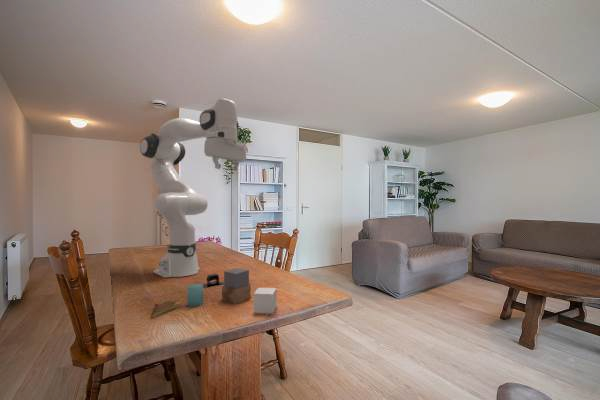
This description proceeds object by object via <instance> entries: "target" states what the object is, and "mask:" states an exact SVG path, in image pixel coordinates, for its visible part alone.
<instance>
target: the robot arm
mask: <svg viewBox="0 0 600 400" xmlns="http://www.w3.org/2000/svg"><path fill="white" fill-rule="evenodd" d="M237 107H238V106H237V104H236V102H235V101H233V100H232V99H228V98H225V97H224V98H222V97H221V98H218V99H217V100H216V102H215V104H214V105H212V106H211V107H210V108H208V109H207V108H206V109H205V110H203V111H202V112H201V113H200V115H199V121H196V120H192V119H189V118H185V117H177V118H173V119H170V120H168V121H165V123H163V124H161V126H160V127H159V131H158V134H156V133H151V134H150V135H148V136H145V137H144V138H143V139H141V141H140V144H139V151H140V153H141V155H142V156H143V157H145V158H148V159H154V160H155V161H153V162H152V164H151V165H150V172H151V174H152V177H153V179H154V181H155V183H156V184H157V186H158V188H159V190H160V192H161V193H159V194H158V195H157V196H156V198H155V200H154V209H155V211H156V212H157V213H158V214H159V215H160V216H162V217H163V218H164V219H165V221H166V223H167V225H168V229H169V245H168V246H166V247H167V252H166V253H165V255H163V257H162V258H160V260H159V262H158V268H156V269H153V273H154V274H156V275H158V276H160V277H162V278H181V277H187V276H193V275H195V274H198V273H199V271H200V270H201V269H200V267H199V264H198V254H197V252H196V250H197V244H196V241H195V239H196V232H195V231H196V228H195V227H194V225H193V224H191V223H189V222H188V221H187V219H186V216H194V215H200V214H202V213H203V214H204V213H205V212H206V211H207V209H208V199H207V197H206V196H205V195H203V194H201V193H199V192H197V191H195V190H194V189H192V187H190V186H189V185H187V183H185V182H184V181H183V179H182V177H181V176H180V175H179V174H178V171H177V170H176V169H175V167H174V166H177V165H179V163H180V162H182V161H183V160H184V158H185V156H186V147H185V146H184V144H183V143H181V142H186V141H192V140H195V139H196V140H197V139H203V138H206V139H205V140H204V149H203V150H204V151H203V152H204V154H205V156H206V157H211V158H212V161H213V164H214V168H215V169H216V170H220V169H221V167H222V165H221V164H220V162H219V159H221V160H228V161H233V163H234V165H233V166H232V172H237V171H238V167H239V166H240V163H243V162H246V160H247V152H246V146H245V144H244V141H242V140H238V131H239V130H240V129H239V128H240V125H239V122H238V108H237Z"/></svg>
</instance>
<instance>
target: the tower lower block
mask: <svg viewBox="0 0 600 400" xmlns="http://www.w3.org/2000/svg"><path fill="white" fill-rule="evenodd" d="M251 286H252V285H251V283H249V284H248V285H245V286H243V287H240V288H237V289H236V288H231V287H227V286H224V285H221V300H222V301H225V302H229V303H231V304H234V305H235V304H236V305H237V304H240V303H241V302H244V301H246V300H248V299H251V297H252V296H251V294H252V293H251V292H252V291H251V289H252V288H251Z"/></svg>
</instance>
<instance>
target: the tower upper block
mask: <svg viewBox="0 0 600 400" xmlns="http://www.w3.org/2000/svg"><path fill="white" fill-rule="evenodd" d="M223 273H224V275H223V276H224V277H223V282H224V286H227V287H231V288H236V289H237V288H240V287H243V286H245V285H248V284H250V276H249V275H250V270H249V269H243V268H238V267H237V268H231V269H229V270H228V269H227V270H225V271H223Z"/></svg>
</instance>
